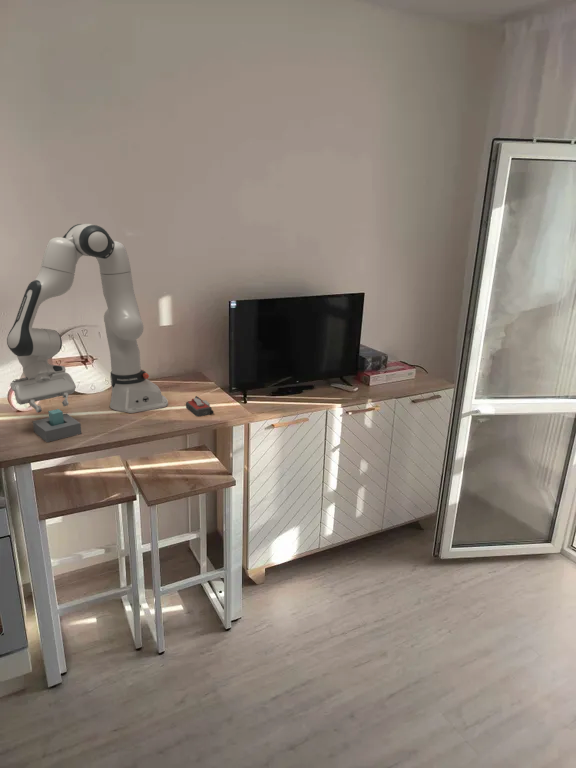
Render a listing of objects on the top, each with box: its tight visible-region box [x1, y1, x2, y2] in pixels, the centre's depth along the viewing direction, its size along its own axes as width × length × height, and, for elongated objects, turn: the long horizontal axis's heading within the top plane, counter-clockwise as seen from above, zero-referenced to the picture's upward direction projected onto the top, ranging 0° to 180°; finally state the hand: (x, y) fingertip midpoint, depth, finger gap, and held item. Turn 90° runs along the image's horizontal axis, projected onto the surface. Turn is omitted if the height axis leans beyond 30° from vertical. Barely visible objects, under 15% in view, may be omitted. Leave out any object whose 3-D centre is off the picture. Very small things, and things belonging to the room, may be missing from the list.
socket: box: [32, 413, 82, 443], centre depth 203 cm, size 12×12×4 cm
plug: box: [48, 408, 64, 426], centre depth 202 cm, size 4×4×8 cm
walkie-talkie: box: [185, 395, 215, 418], centre depth 230 cm, size 9×4×20 cm
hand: (53, 408), depth 202 cm, fingers open, 8 cm apart
